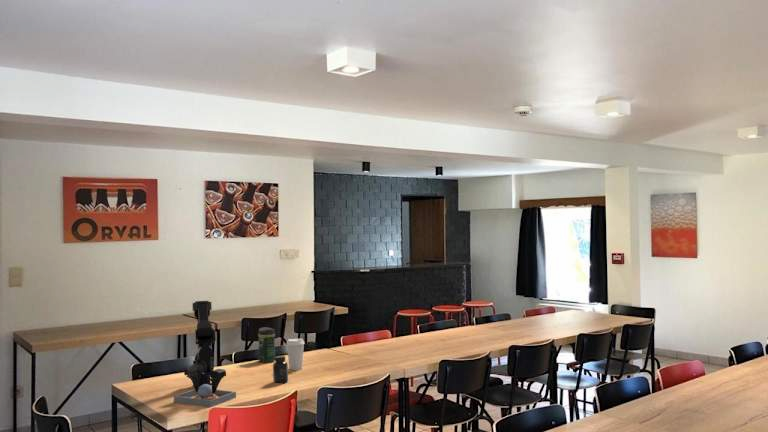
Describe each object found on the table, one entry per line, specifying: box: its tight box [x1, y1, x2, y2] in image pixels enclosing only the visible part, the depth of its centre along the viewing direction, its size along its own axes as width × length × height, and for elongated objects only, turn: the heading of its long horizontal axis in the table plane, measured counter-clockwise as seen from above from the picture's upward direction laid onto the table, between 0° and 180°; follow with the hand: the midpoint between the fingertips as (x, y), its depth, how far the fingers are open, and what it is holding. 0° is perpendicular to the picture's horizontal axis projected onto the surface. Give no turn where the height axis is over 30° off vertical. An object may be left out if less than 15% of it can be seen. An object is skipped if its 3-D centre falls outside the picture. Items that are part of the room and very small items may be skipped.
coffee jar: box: [257, 326, 276, 363], centre depth 354 cm, size 10×8×19 cm
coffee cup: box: [285, 338, 306, 371], centre depth 333 cm, size 10×10×15 cm
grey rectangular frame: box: [173, 388, 237, 408], centre depth 274 cm, size 20×16×2 cm
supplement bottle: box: [272, 355, 289, 384], centre depth 304 cm, size 7×7×12 cm
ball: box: [198, 384, 212, 398], centre depth 275 cm, size 6×6×6 cm
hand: (205, 392), depth 274 cm, fingers open, 9 cm apart
